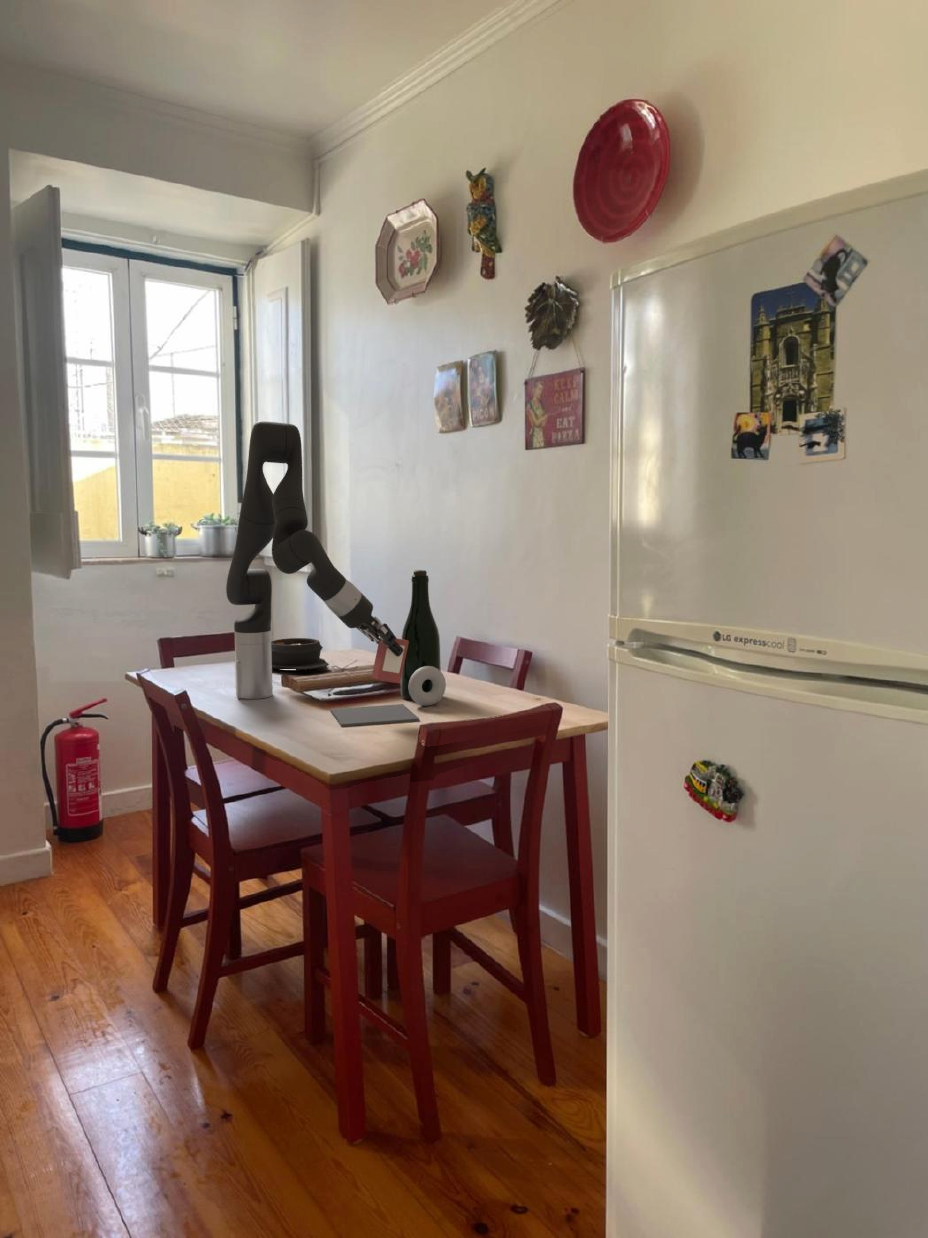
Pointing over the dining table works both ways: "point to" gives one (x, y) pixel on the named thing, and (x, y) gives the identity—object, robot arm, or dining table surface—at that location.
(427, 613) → the dark green wine bottle
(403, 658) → the card box
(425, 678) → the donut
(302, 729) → the dining table surface
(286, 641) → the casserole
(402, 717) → the mat
